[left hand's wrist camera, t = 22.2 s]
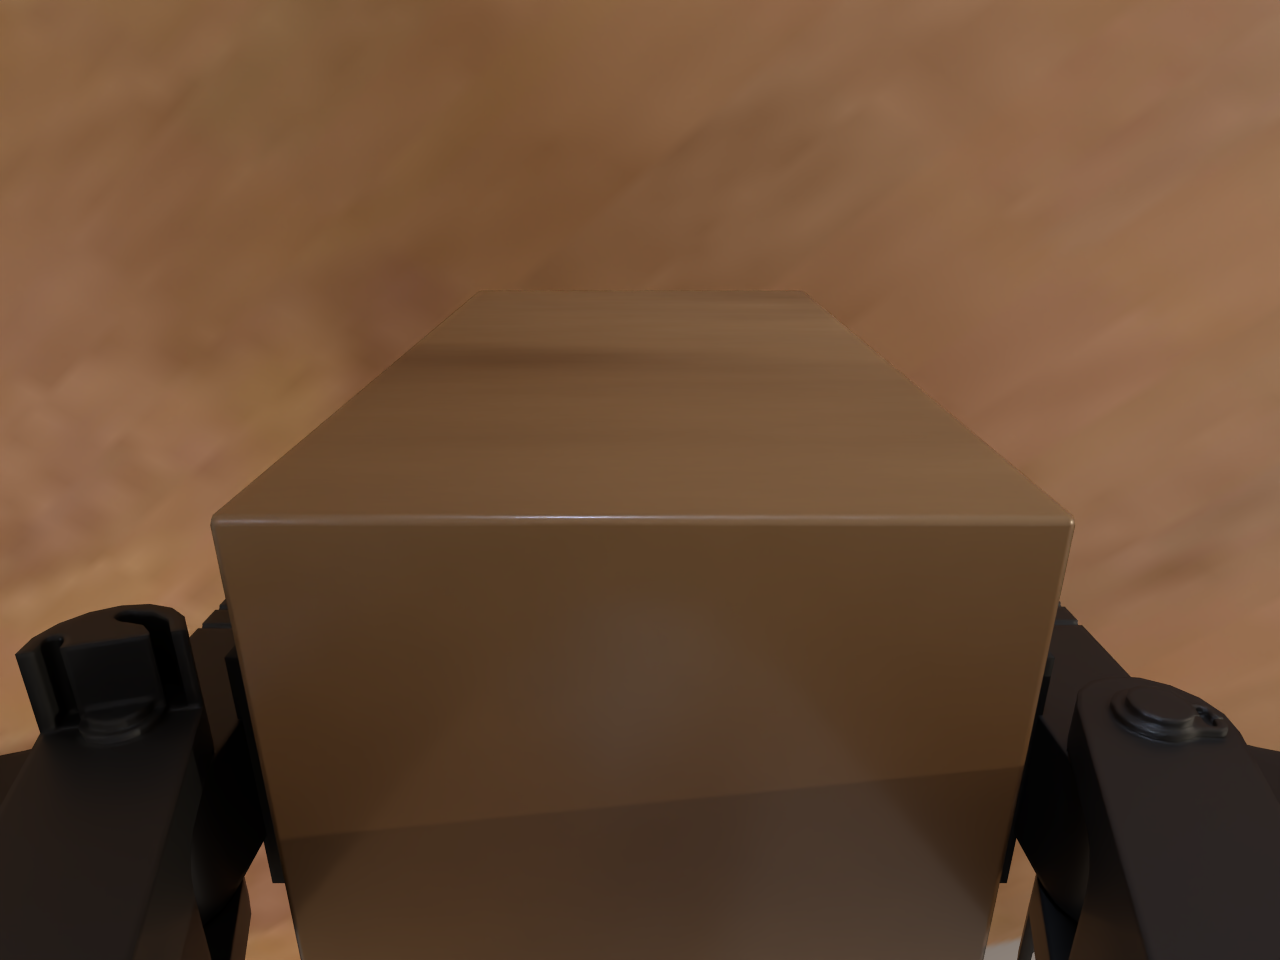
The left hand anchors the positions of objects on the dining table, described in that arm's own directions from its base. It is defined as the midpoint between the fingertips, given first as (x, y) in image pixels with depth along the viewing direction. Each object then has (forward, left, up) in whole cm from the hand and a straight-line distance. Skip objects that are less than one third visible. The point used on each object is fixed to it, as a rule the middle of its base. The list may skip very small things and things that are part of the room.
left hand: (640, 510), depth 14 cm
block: (0, 0, -3) cm, 3 cm away
